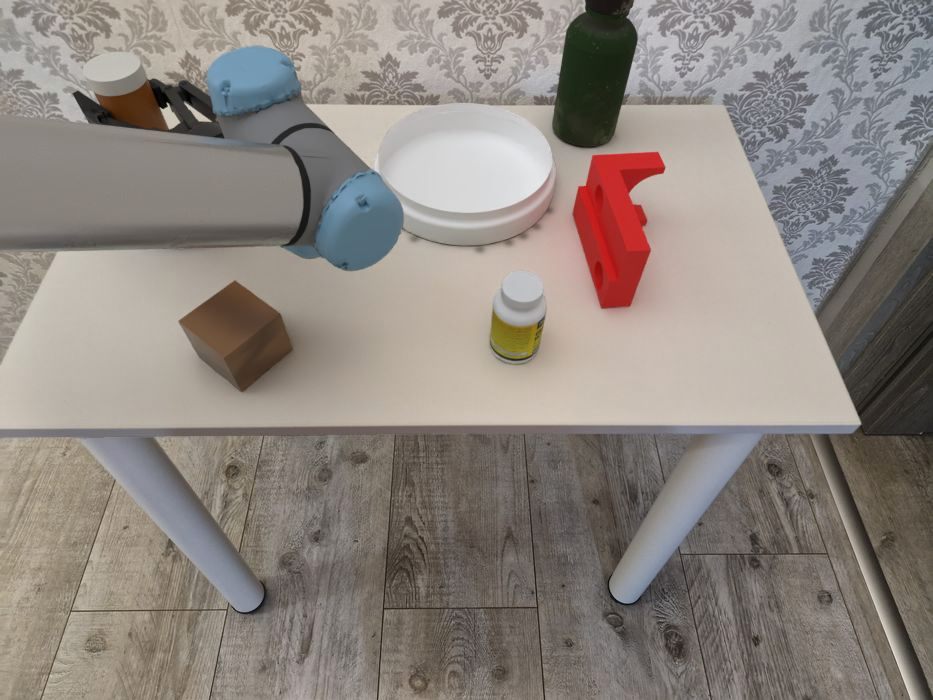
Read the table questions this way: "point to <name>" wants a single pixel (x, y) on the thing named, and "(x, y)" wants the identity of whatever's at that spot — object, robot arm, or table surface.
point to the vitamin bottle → (124, 89)
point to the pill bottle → (518, 317)
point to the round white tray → (467, 173)
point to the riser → (237, 335)
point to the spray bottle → (594, 72)
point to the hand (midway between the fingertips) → (105, 90)
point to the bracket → (615, 223)
